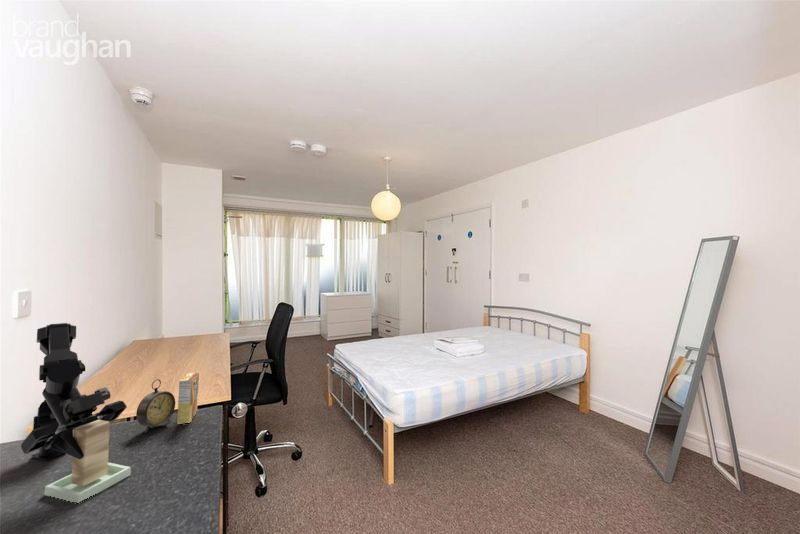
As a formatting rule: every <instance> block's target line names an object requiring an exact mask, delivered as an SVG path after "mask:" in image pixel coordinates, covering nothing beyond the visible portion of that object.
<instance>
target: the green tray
mask: <svg viewBox="0 0 800 534" xmlns="http://www.w3.org/2000/svg"><path fill="white" fill-rule="evenodd" d="M131 470H132V467H130V466H128V465H122V464H118V463H114V462H109V461H108V473H107V474H106V475H104V476H102V477H100V478H99V479H97V480H95V481H93V482H91V483H89V484H87V485H85V486H80V485H76V484H72V473H71V474H68V475H67V476H64V477H62V478H60V479H58V480H56V481H54V482H53V481H52V482H51V483H49V484H47V485H45V486H44V496H46V497H50V496H51V497H50V498H53V497H55V498H54V499H57V498H59V499H58V500H61V499H63V500H62V501H64V500H66V501H65V502H68V501H70V502H69V503H72V502H77V503H79V502H80V501H82V500H84V499H87V498H88V499H90V498H91V497H90V496H92V497H93V495H94V496H95V494H96V495H97V494H99V493H100V492H103V491H105V490H107V489H108V488H110V487H111V486H114V485H115V484H117V483H119V482H121V481H122V480H124V479H126V478H128V477H130V476H131V472H132V471H131ZM89 497H90V498H89ZM88 499H87V500H88ZM79 504H80V503H79Z"/></svg>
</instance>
